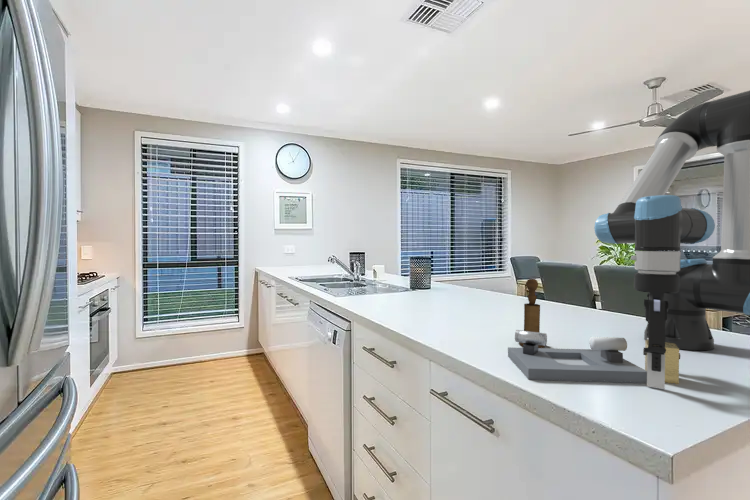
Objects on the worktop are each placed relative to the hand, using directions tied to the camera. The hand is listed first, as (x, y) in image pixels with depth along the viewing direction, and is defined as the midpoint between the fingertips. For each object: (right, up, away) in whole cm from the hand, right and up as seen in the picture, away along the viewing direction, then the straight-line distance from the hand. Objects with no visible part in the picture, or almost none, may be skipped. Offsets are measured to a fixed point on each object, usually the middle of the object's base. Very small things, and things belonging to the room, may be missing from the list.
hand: (654, 377), depth 79 cm
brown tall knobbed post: (-15, 0, +25) cm, 29 cm away
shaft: (-21, +2, +11) cm, 24 cm away
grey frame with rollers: (-14, 0, +6) cm, 15 cm away
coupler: (+1, 0, 0) cm, 1 cm away
